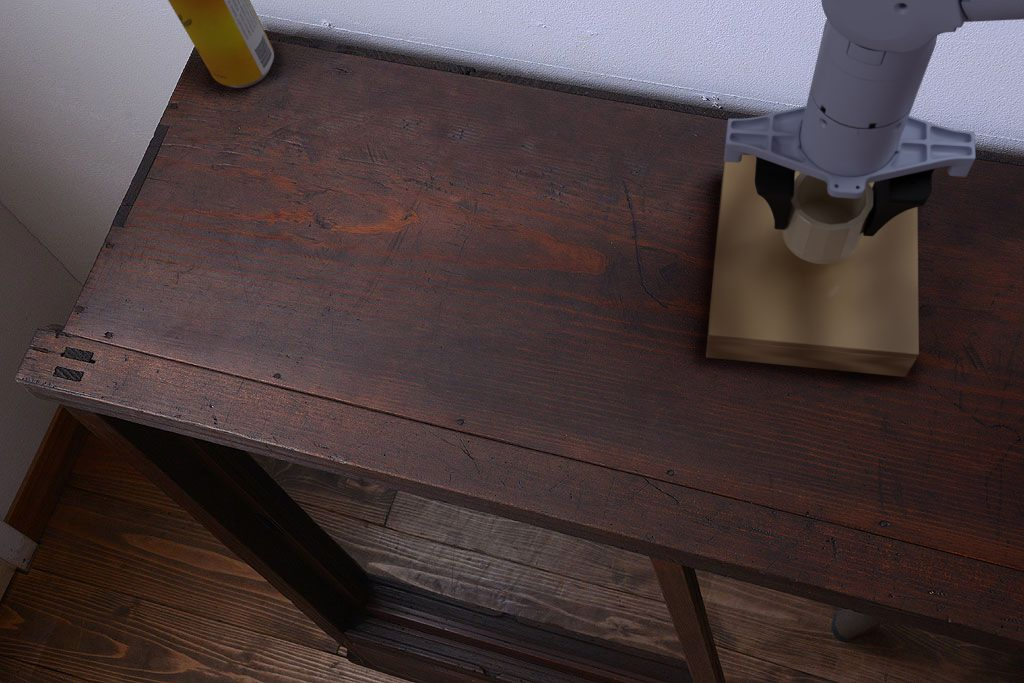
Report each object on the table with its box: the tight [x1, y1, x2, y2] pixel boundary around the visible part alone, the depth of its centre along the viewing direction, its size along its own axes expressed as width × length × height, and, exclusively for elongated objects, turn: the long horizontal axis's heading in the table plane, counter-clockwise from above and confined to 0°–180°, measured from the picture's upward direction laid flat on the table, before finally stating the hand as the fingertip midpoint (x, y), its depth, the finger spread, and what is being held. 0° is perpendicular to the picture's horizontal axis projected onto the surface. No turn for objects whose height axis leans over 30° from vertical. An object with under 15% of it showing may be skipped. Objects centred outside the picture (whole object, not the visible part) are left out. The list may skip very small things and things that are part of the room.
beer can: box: [167, 0, 275, 89], centre depth 83 cm, size 6×6×15 cm
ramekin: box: [782, 173, 874, 264], centre depth 66 cm, size 5×5×4 cm
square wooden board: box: [705, 155, 920, 378], centre depth 72 cm, size 14×16×4 cm
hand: (823, 220), depth 67 cm, fingers closed on ramekin, 5 cm apart
